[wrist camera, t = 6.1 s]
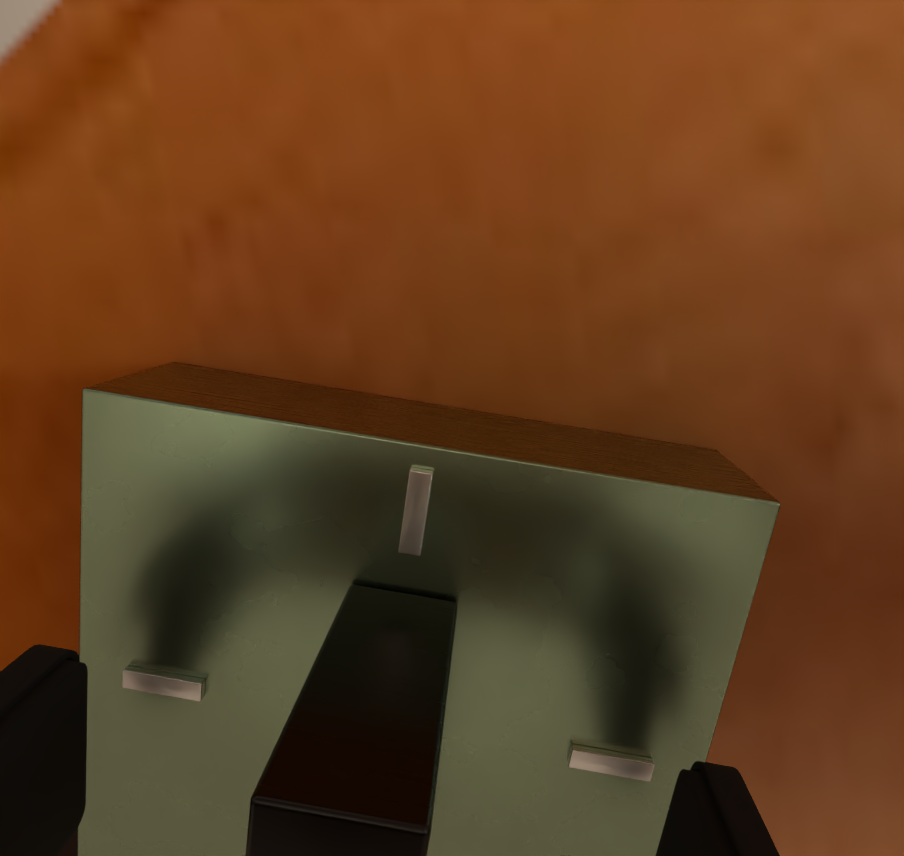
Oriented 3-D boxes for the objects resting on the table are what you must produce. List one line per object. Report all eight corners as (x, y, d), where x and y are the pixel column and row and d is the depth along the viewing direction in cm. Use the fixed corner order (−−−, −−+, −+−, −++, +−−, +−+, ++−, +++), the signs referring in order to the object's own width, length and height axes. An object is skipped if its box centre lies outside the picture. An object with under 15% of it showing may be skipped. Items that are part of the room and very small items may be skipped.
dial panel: (718, 449, 13) (787, 506, 10) (612, 856, 15) (640, 1004, 12) (172, 360, 13) (73, 389, 10) (153, 773, 16) (69, 896, 13)
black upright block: (350, 581, 11) (238, 817, 6) (458, 601, 11) (429, 852, 6) (319, 829, 12) (207, 1181, 7) (417, 846, 12) (366, 1212, 7)
